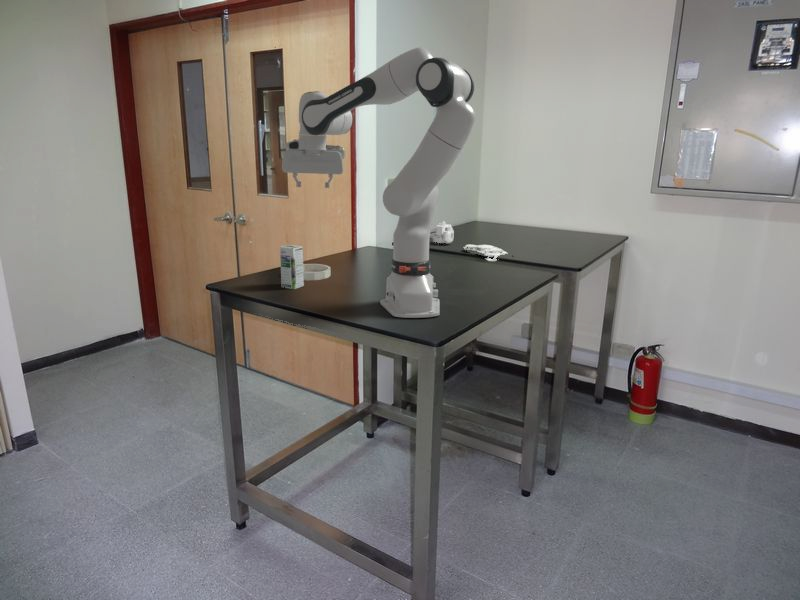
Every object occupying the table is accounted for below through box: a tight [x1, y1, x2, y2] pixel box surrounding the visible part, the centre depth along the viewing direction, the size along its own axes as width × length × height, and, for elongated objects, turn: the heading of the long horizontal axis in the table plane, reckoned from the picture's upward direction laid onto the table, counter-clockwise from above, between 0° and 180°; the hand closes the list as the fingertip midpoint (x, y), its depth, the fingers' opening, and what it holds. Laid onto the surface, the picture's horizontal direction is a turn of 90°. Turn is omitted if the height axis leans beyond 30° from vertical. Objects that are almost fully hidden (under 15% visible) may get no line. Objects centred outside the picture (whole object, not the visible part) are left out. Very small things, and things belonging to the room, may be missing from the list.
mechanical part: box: [429, 220, 455, 244], centre depth 270 cm, size 11×12×12 cm
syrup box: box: [279, 244, 305, 290], centre depth 186 cm, size 6×6×14 cm
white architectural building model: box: [462, 243, 509, 262], centre depth 247 cm, size 23×25×4 cm
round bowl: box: [303, 263, 332, 281], centre depth 203 cm, size 16×16×3 cm
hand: (313, 187), depth 182 cm, fingers open, 8 cm apart
